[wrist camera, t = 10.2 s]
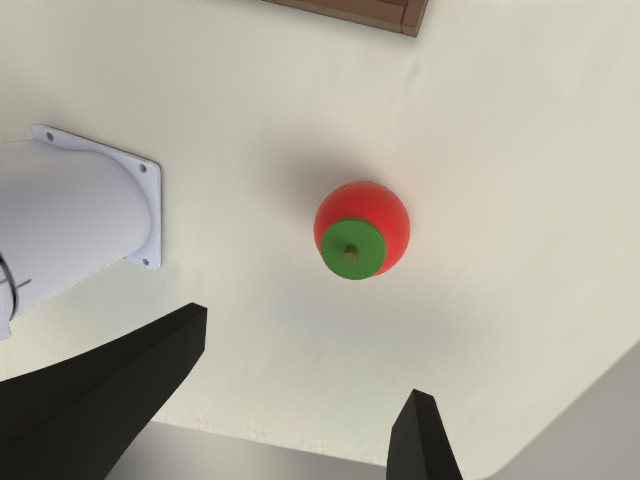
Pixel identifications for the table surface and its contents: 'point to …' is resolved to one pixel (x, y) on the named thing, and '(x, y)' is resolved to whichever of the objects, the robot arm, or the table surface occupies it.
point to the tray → (368, 12)
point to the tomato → (361, 230)
